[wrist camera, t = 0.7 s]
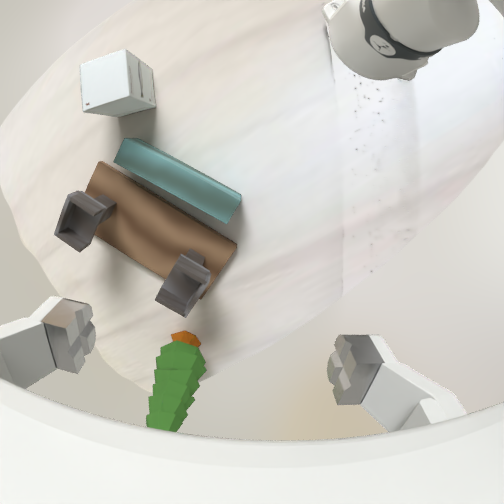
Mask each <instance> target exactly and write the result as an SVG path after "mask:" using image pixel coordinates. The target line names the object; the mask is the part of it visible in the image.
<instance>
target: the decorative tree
mask: <svg viewBox="0 0 504 504" xmlns="http://www.w3.org/2000/svg"><path fill="white" fill-rule="evenodd" d="M171 336H172V339H173V342H172V343H170V344H167V345H165V346H163V347H161V355H160V356H158V357H156V364H157V369H156V370H154V373H155V383H156V384H153V396H150V397H149V410H150V414H149V415H147V416H146V424H147V427H149V428H155V429H160V430H166V431H171V432H177V430H178V429H179V428H180V426H181V425H182V424H183V423H182V422H183V421H184V419H185V418H186V417H187V415H188V414H187V412H186V410H187V409H188V408H189V407H190V406H191V404H192V403H193V402H194V401H195V399H194V397H191V396H192V395H193V394H194V393H195V391H196V390H197V389H198V388H199V386H200V385H199V383H198V380H199V378H200V377H201V376H202V375H203V374H204V373H205V372H206V371H207V370H206V368H205V367H204V364H205V363H206V362H205V360H204V358H203V356H202V354H201V352H200V351H199V349H198V347H199V346H200V344H201V343H200V341H199V340H198V339H197V337H196V336H195V335H193V334H191V333H189V332H187V331H182V332H179V333H175V334H172V335H171Z"/></svg>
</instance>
